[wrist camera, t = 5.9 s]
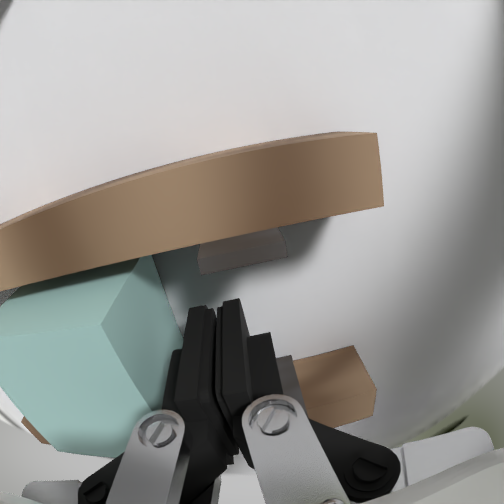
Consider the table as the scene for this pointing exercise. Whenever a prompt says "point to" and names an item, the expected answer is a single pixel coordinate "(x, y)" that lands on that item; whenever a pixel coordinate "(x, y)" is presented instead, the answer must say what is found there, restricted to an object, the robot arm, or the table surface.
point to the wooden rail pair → (215, 234)
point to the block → (89, 354)
